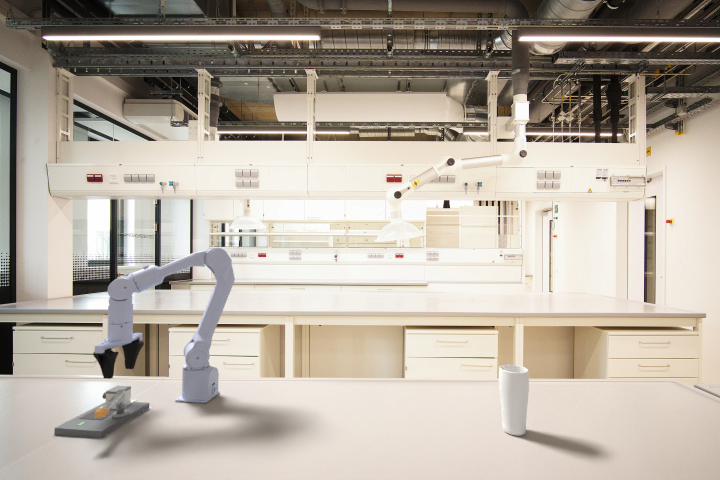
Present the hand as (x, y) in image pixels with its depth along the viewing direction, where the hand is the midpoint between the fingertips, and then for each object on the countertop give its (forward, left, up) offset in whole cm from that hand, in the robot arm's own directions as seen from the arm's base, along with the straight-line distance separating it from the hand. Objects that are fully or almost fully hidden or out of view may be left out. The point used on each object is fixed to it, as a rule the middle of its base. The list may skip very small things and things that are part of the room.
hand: (119, 373), depth 100 cm
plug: (0, 0, -8) cm, 8 cm away
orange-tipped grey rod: (-8, +11, -8) cm, 16 cm away
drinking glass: (-102, -2, -10) cm, 103 cm away
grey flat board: (-1, +6, -10) cm, 12 cm away
